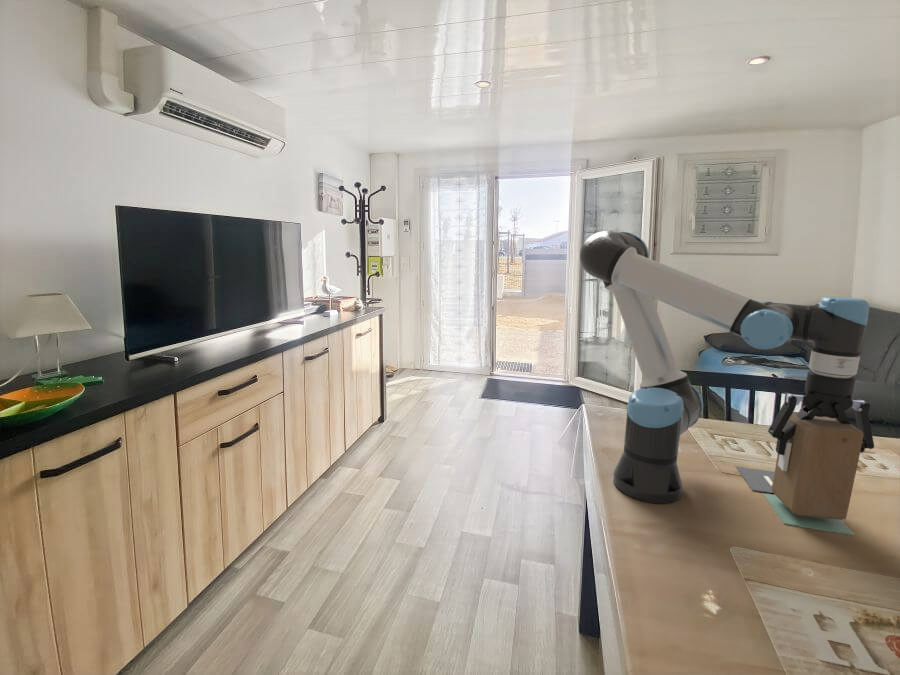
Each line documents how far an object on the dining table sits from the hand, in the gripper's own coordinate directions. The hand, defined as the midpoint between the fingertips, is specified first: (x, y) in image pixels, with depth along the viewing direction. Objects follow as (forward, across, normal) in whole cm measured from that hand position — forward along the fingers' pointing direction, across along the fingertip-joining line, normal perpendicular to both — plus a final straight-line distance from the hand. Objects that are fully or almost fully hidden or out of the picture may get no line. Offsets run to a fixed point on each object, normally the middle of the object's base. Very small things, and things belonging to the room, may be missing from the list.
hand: (812, 472), depth 94 cm
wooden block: (+8, 0, 0) cm, 8 cm away
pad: (+10, 0, 0) cm, 10 cm away
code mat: (+10, +1, +13) cm, 16 cm away
